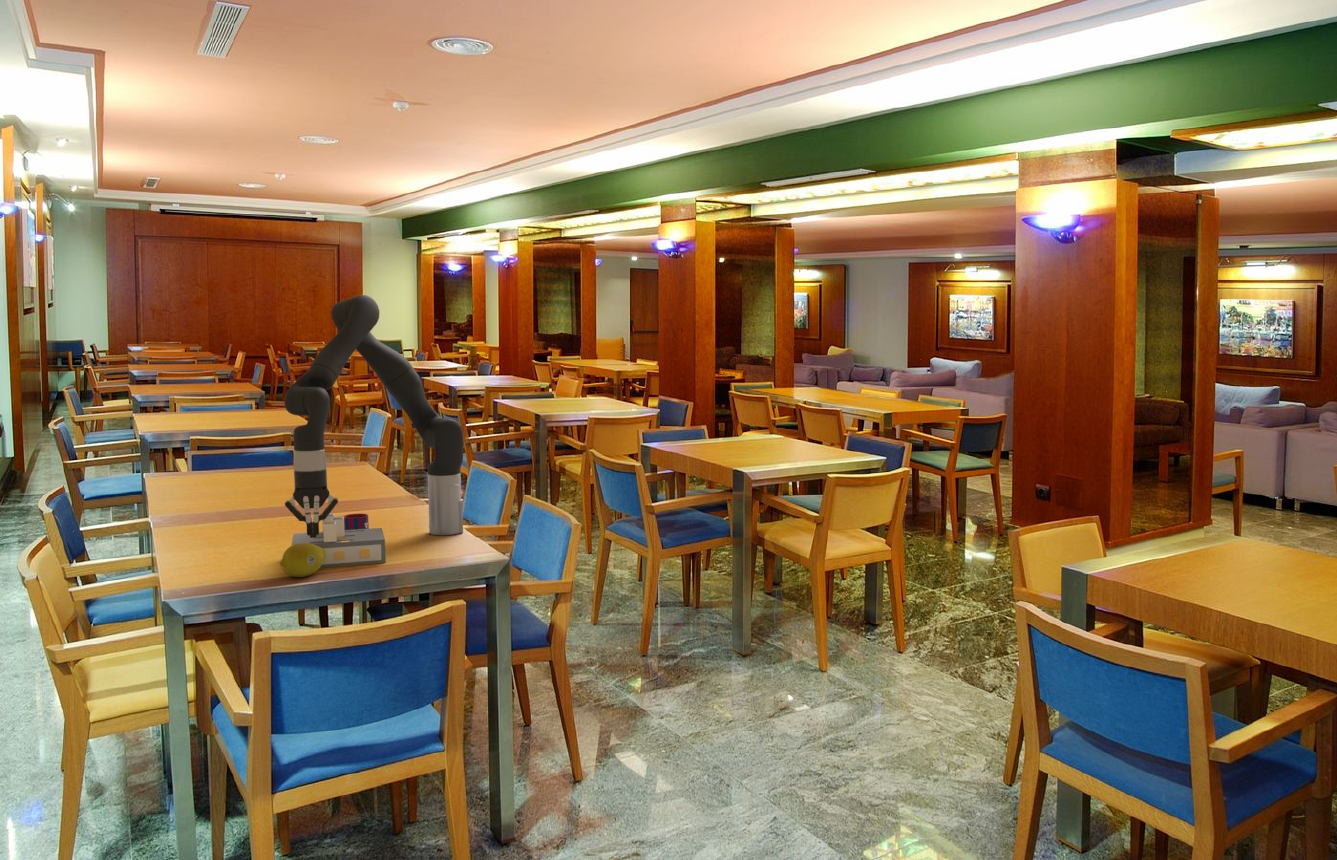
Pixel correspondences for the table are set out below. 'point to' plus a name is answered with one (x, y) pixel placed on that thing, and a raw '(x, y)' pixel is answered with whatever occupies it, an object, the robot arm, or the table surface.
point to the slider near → (329, 531)
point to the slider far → (328, 518)
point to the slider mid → (339, 526)
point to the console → (349, 547)
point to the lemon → (302, 559)
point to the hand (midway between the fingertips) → (313, 537)
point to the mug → (356, 521)
